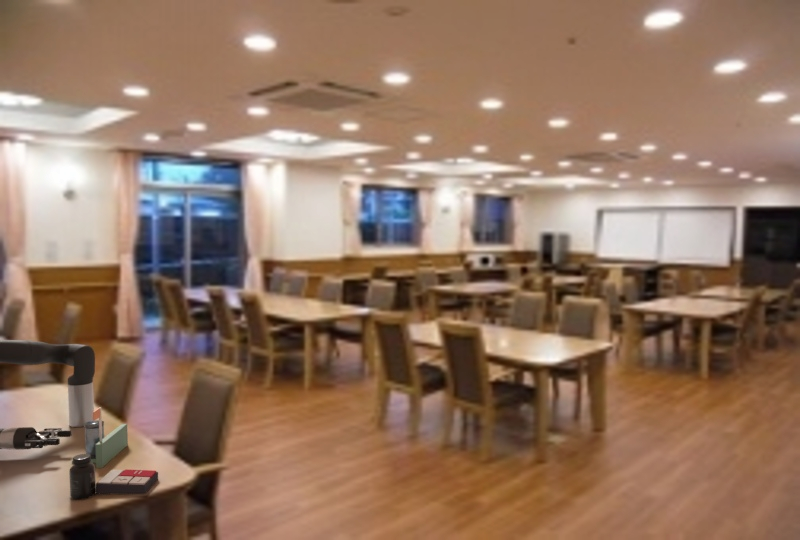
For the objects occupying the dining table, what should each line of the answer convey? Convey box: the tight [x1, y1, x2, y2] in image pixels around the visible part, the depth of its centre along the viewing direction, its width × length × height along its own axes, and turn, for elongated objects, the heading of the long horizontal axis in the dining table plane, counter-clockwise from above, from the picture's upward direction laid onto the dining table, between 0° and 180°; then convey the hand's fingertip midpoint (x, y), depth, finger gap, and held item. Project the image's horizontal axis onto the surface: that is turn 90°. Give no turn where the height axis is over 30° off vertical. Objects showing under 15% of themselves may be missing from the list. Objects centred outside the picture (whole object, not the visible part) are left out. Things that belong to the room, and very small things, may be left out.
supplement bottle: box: [69, 453, 97, 501], centre depth 183 cm, size 7×7×12 cm
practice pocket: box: [71, 407, 129, 469], centre depth 214 cm, size 25×12×20 cm, turn 3°
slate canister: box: [83, 419, 105, 459], centre depth 216 cm, size 6×6×12 cm
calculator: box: [95, 469, 159, 495], centre depth 190 cm, size 11×4×15 cm
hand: (65, 437), depth 215 cm, fingers open, 8 cm apart
